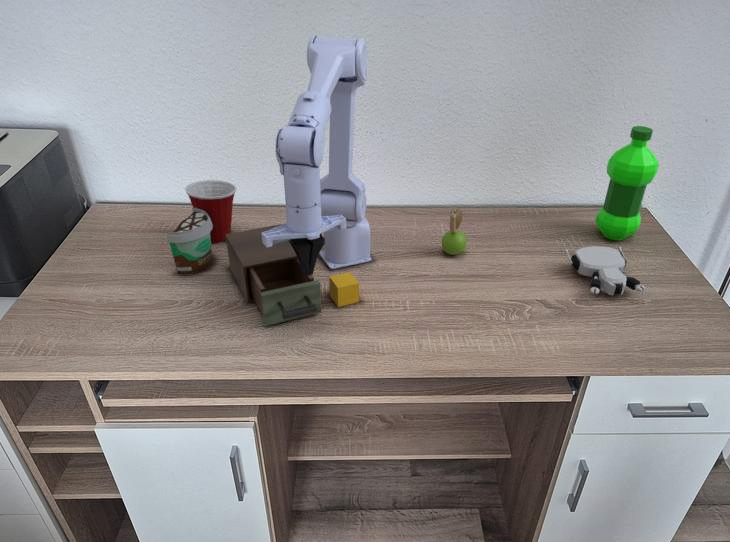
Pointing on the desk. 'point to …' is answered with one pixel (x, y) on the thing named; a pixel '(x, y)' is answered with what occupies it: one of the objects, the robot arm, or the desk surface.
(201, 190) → the plastic cup
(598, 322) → the desk surface
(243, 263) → the cabinet
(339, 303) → the block
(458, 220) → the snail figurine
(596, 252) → the robot toy
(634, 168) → the plastic bottle
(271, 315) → the drawer
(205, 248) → the food container
